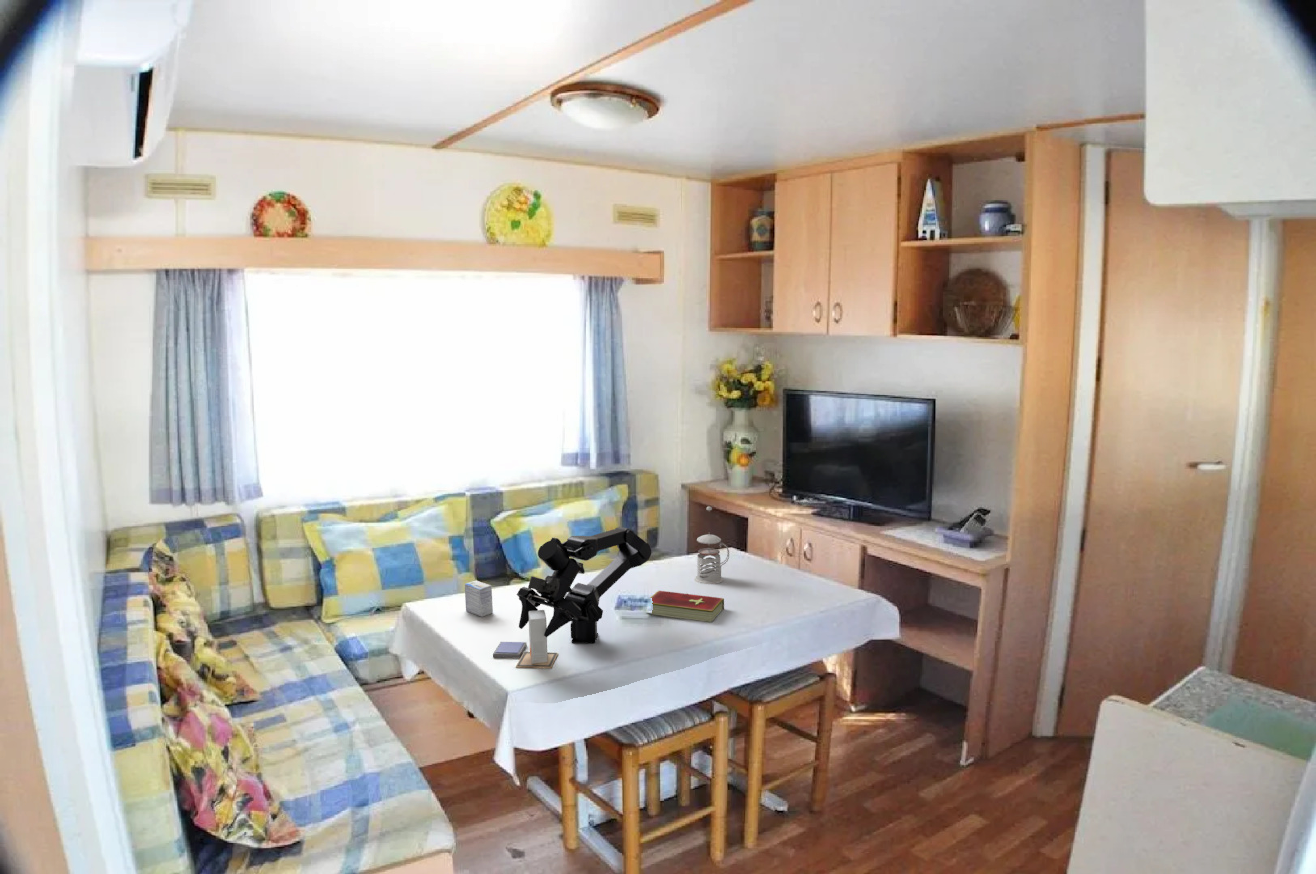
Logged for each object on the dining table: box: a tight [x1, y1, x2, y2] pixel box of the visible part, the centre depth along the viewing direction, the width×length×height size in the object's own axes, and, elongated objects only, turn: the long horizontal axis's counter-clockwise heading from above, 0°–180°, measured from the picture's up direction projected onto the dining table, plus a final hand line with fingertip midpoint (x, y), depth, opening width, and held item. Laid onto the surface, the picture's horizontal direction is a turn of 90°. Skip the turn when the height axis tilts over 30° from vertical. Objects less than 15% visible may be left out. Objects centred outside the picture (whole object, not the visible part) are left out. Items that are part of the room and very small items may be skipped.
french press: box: [694, 506, 730, 585], centre depth 279 cm, size 10×12×25 cm
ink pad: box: [492, 641, 527, 659], centre depth 222 cm, size 7×8×1 cm
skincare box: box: [528, 609, 548, 664], centre depth 216 cm, size 6×4×12 cm
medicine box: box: [464, 580, 494, 617], centre depth 251 cm, size 8×4×9 cm, turn 47°
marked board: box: [515, 651, 559, 669], centre depth 216 cm, size 9×9×1 cm
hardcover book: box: [649, 590, 725, 623], centre depth 251 cm, size 12×21×4 cm, turn 69°
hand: (532, 632), depth 214 cm, fingers open, 9 cm apart
